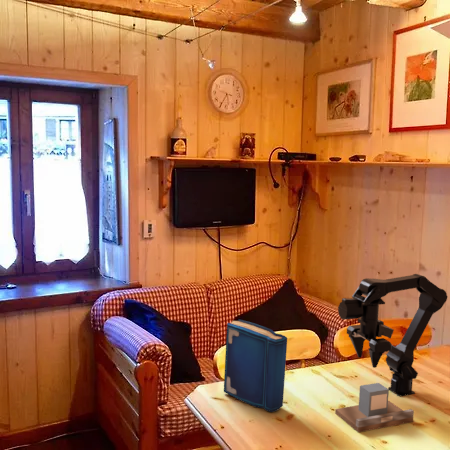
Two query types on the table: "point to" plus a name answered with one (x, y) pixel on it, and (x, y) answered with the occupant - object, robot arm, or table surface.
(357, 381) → the table surface
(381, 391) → the carton
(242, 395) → the book
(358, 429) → the shelf board
